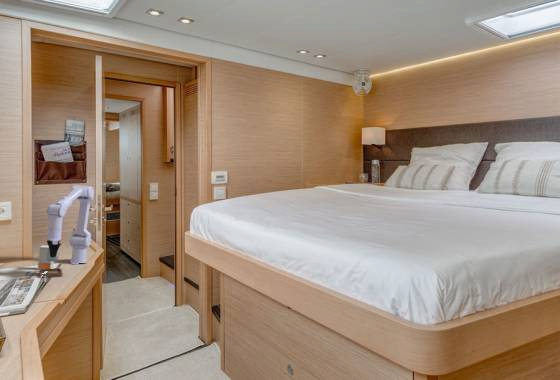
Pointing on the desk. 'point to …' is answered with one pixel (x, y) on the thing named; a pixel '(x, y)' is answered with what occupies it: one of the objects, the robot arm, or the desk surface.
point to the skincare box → (44, 259)
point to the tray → (52, 272)
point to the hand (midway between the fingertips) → (52, 255)
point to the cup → (52, 257)
